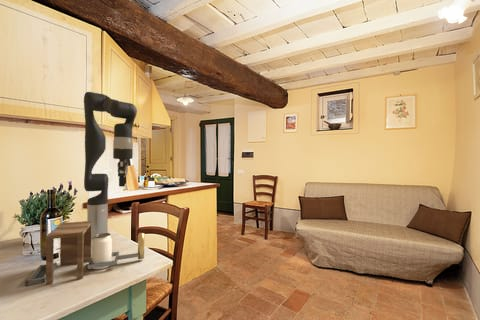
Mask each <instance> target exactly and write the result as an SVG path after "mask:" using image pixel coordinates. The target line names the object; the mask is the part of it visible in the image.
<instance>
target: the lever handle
mask: <svg viewBox="0 0 480 320" xmlns="http://www.w3.org/2000/svg"><path fill="white" fill-rule="evenodd" d="M112 257H113V258H114V260H111V261H107V262H100V263H93V264H92V258H91V260H90V262H88V264H87V269H88V270H91V269H93V268H98V267H105V266H109V267H110V266H117V265H118V262H119V260H125V259H126V260H127V259H132V258H134V259H135V258H137V259H138V260H143V259H145V232H139V233H138V234H137V252H134V253H129V254H128V253H127V254H121V255H120V251H113V252H112Z"/></svg>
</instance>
